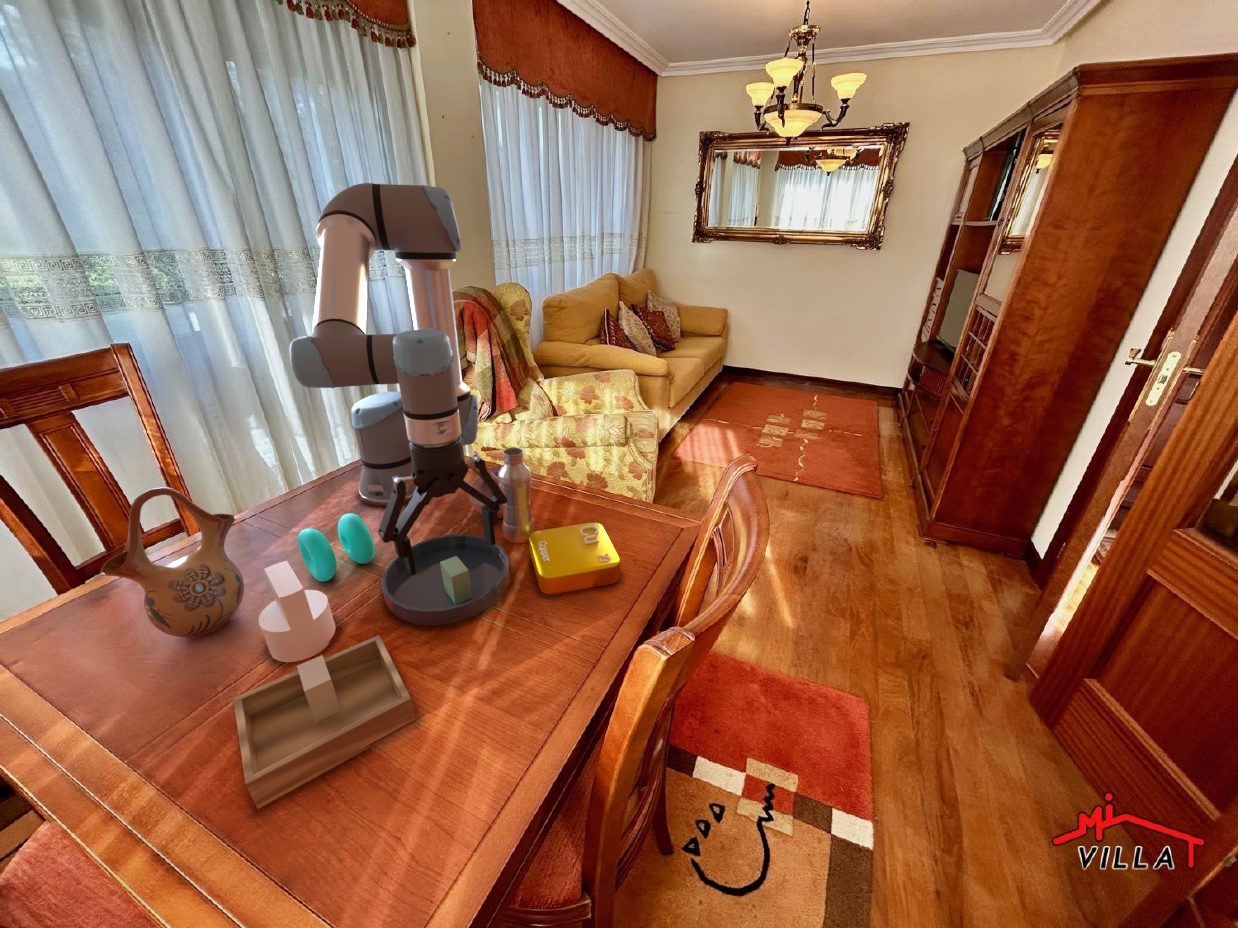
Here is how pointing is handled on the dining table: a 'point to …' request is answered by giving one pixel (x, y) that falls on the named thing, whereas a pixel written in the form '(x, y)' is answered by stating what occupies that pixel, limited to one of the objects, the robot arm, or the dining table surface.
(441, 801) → the dining table surface
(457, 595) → the green rectangular block
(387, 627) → the dining table surface
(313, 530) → the donuts
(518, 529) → the silver metal bottle
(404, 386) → the robot arm
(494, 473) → the pink rounded hollow piece
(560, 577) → the element tile
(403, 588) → the dark grey round tray
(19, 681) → the dining table surface
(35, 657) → the dining table surface
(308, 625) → the base with upright slab
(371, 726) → the holder
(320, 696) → the beige rectangular block
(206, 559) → the ceramic vessel
